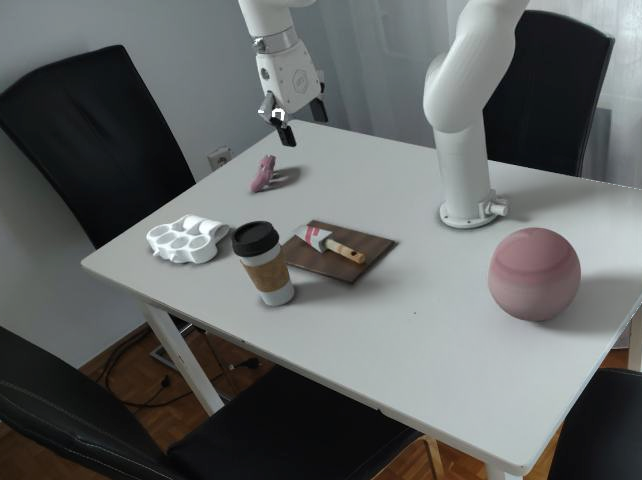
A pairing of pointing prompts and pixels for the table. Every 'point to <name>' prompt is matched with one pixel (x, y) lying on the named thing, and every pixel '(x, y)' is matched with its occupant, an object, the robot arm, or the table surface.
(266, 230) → the coffee cup
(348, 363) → the table surface
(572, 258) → the pink ball
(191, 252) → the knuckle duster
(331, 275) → the board
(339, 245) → the white and tan bar
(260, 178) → the video game controller
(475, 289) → the table surface
